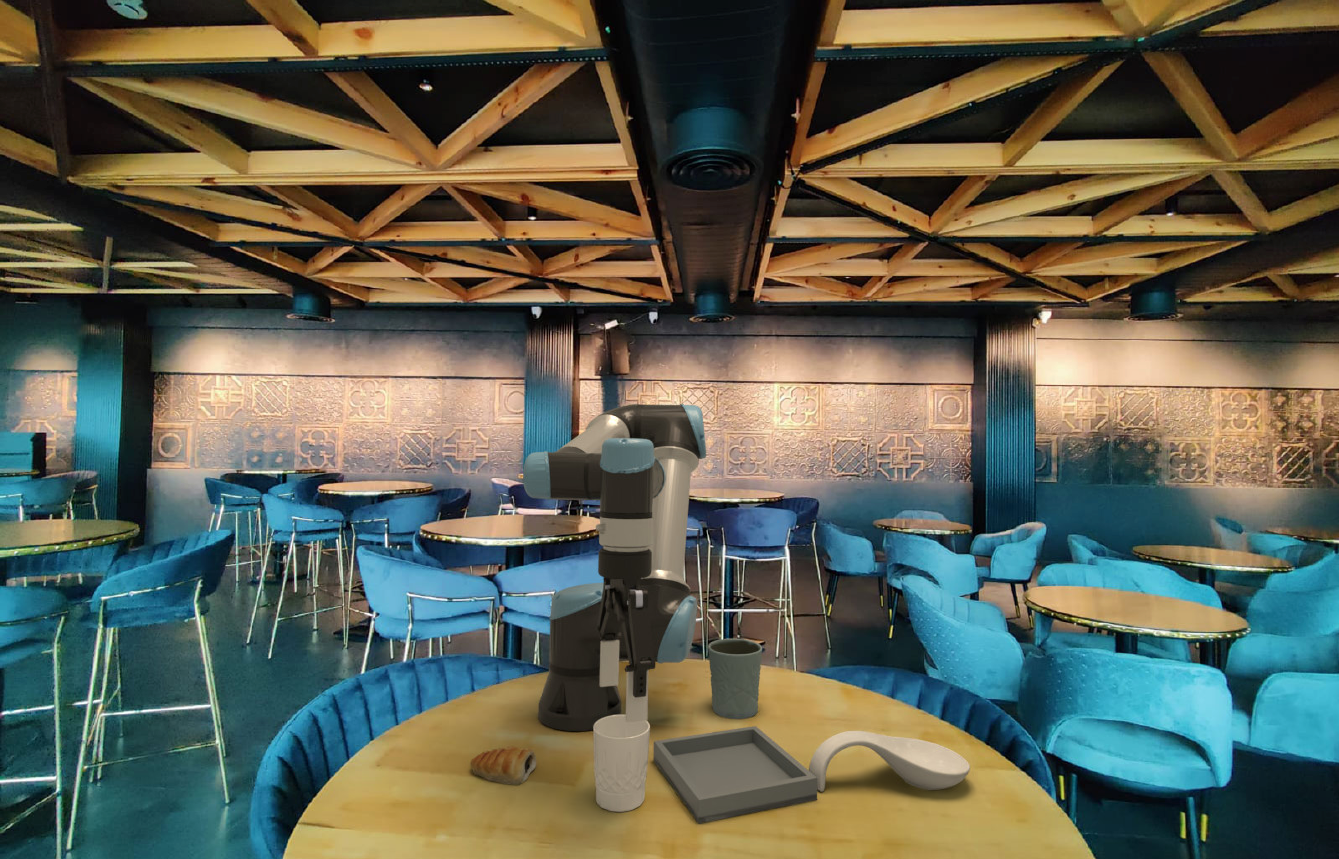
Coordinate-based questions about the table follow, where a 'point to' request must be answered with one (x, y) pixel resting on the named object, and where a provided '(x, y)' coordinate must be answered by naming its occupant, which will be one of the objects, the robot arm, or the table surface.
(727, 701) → the grey-green cup
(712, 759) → the tray
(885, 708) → the table surface
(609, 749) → the white cup
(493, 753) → the pastry
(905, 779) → the spoon rest
